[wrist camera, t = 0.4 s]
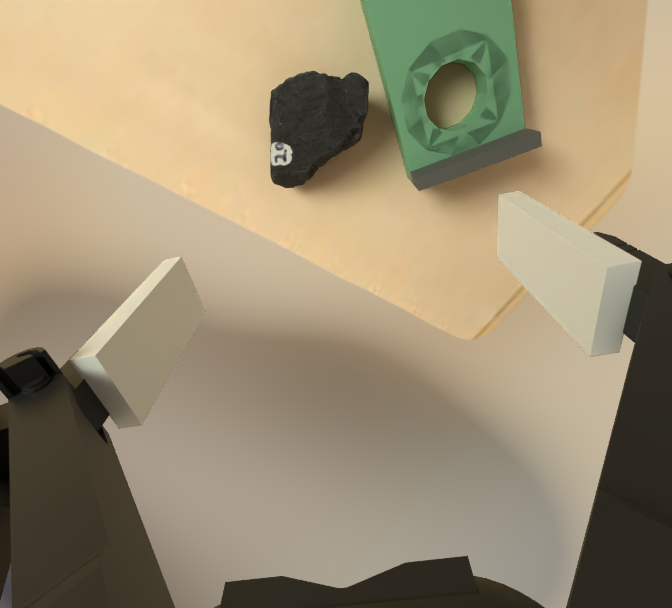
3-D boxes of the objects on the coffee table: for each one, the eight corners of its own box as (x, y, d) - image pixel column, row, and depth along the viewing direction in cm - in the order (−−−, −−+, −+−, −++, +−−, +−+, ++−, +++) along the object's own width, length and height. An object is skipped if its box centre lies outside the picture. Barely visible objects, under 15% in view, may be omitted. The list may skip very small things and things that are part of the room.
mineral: (358, 186, 40) (361, 200, 35) (274, 182, 40) (265, 196, 35) (365, 75, 35) (370, 73, 30) (269, 71, 35) (258, 68, 30)
